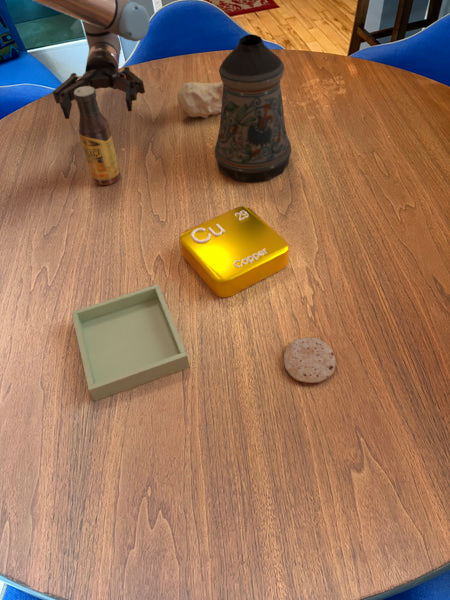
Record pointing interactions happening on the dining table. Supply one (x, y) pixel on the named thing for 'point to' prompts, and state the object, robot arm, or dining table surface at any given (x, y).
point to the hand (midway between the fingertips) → (96, 109)
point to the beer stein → (252, 114)
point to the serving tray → (128, 342)
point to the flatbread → (309, 360)
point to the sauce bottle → (96, 138)
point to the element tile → (234, 251)
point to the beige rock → (201, 99)
